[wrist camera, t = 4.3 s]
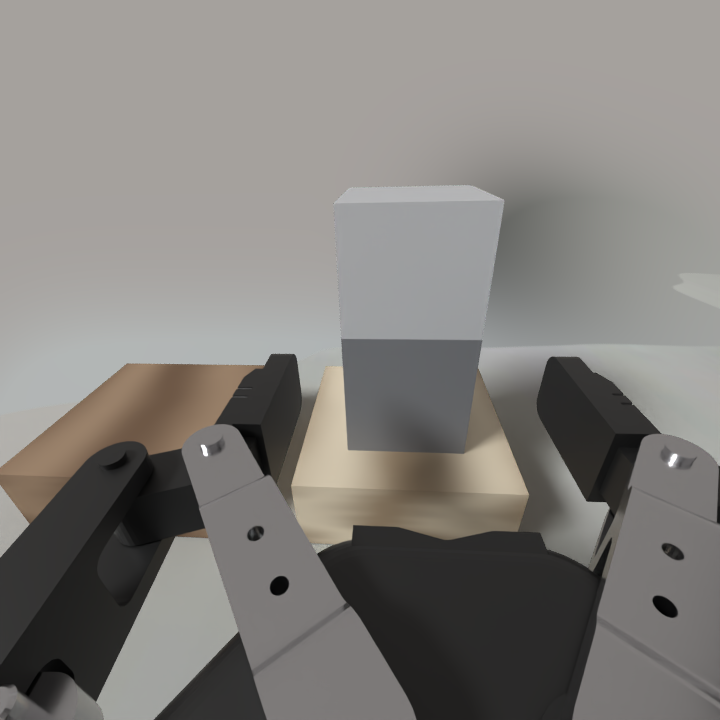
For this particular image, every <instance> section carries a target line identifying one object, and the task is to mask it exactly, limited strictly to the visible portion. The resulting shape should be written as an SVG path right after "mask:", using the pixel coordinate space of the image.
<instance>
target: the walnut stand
mask: <svg viewBox="0 0 720 720" xmlns="http://www.w3.org/2000/svg"><path fill="white" fill-rule="evenodd" d="M263 368H264V365H263V366H262V365H259V366H258V365H193V364H187V365H186V364H126V365H125V366H124V367H122V368H121V369H120V370H119V371H117V373H115V374H114V375H113V376H111V378H109V379H108V380H107V381H105V382H104V383H103V384H102V385H100V386H99V387H98V388H97V389H96V390H94V391H93V392H92V393H91V394H89V395H88V396H87V397H86V398H85V399H83V400H82V401H81V402H80V403H79V404H77V405H76V406H75V407H74V408H72V409H71V410H70V411H69V412H68V413H66V414H65V415H64V416H63V417H61V418H60V419H59V420H58V421H57V422H55V423H54V424H53V425H52V426H51V427H49V428H48V429H47V430H46V431H44V432H43V433H42V434H41V435H40V436H38V437H37V438H36V439H35V440H33V441H32V442H31V443H30V444H29V445H27V446H26V447H25V448H24V449H23V450H21V451H20V452H19V453H18V454H16V455H15V456H14V457H13V458H12V459H10V460H9V461H8V462H7V463H6V464H4V465H3V466H2V467H1V468H0V485H1V486H2V488H3V489H4V490H5V492H6V493H7V494H8V496H9V497H10V498H11V500H12V501H13V502H14V504H15V505H16V506H17V508H18V509H19V510H20V512H21V513H22V514H23V516H24V517H25V518H26V520H27V521H28V522H29V524H31V522H32V521H33V520H34V519H35V518H36V517H37V516H38V515H39V513H40V512H41V511H42V510H43V509H44V508H45V507H46V505H47V504H48V503H49V502H50V501H51V500H52V499H53V498H54V496H55V495H56V494H57V493H58V492H59V491H60V490H61V488H62V487H63V486H64V485H65V484H66V483H67V482H68V480H69V479H70V478H71V477H72V476H73V475H74V474H75V473H76V471H77V470H78V469H79V468H80V467H81V466H82V465H83V463H84V462H85V461H86V460H87V459H88V458H89V457H91V456H92V455H93V454H95V453H96V452H98V451H99V450H101V449H103V448H105V447H107V446H110V445H113V444H116V443H119V442H125V441H136V442H140V443H142V444H143V445H144V446H145V447H146V449H147V451H148V454H149V455H152V454H157V453H162V452H167V451H172V450H177V449H181V448H182V446H183V444H184V442H185V441H186V440H187V439H188V438H189V437H190V436H191V435H192V434H193V433H195V432H196V431H198V430H200V429H202V428H205V427H208V426H212V425H214V424H215V423H216V421H217V419H218V418H219V416H220V415H221V413H222V411H223V410H224V408H225V407H226V405H227V403H228V402H229V400H230V399H231V398H232V397H233V396H232V395H233V394H234V392H235V391H236V389H238V386H239V384H240V383H241V381H242V379H243V378H244V377H245V376H246V375H247V374H249V373H250V372H252V371H253V370H254V369H263ZM177 536H181V537H201V538H208V535H207V532H206V529H201V530H197V531H193V532H189V533H185V534H181V535H177Z"/></svg>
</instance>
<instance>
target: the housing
mask: <svg viewBox="0 0 720 720" xmlns="http://www.w3.org/2000/svg"><path fill="white" fill-rule="evenodd" d="M503 206H504V200H503V199H500V198H498V197H496V196H494V195H492V194H490V193H487V192H485V191H483V190H481V189H479V188H476V187H474V186H472V185H455V186H454V185H453V186H413V187H412V186H407V187H363V188H349V189H348V190H347V191H346V192H345V193H344V194H343V195H342V196H341V197H340V198H339V199H338V200H337V201H336V202H335V203H334V221H335V238H336V255H337V273H338V289H339V307H340V324H341V340H342V359H343V376H344V394H345V411H346V428H347V446H348V450H357V451H389V452H421V453H453V454H464V451H465V445H466V438H467V432H468V426H469V420H470V413H471V407H472V401H473V394H474V388H475V382H476V376H477V369H478V363H479V357H480V351H481V344H482V338H483V331H484V325H485V319H486V313H487V306H488V300H489V294H490V288H491V282H492V275H493V269H494V262H495V256H496V250H497V244H498V238H499V231H500V225H501V218H502V212H503Z"/></svg>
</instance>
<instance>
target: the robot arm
mask: <svg viewBox="0 0 720 720" xmlns="http://www.w3.org/2000/svg"><path fill="white" fill-rule="evenodd" d="M232 396H233V397H232V398H231V399H230V400H229V402H228V403H227V405H226V407H225V408H224V410H223V411H222V413H221V415H220V416H219V418H218V419H217V421H216V423H215V424H214V425H212V426H208V427H205V428H202V429H200V430H198V431H196V432H195V433H193V434H192V435H191V436H190V437H189V438H188V439H187V440H186V441H185V442H184V444H183V446H182V448H181V449H177V450H172V451H167V452H162V453H157V454H152V455H149V454H148V451H147V449H146V447H145V446H144V445H143V444H142V443H140V442H136V441H125V442H119V443H116V444H113V445H110V446H107V447H105V448H103V449H101V450H99V451H98V452H96V453H95V454H93V455H92V456H91V457H89V458H88V459H87V460H86V461H85V462H84V463H83V465H82V466H81V467H80V468H79V469H78V470H77V471H76V473H75V474H74V475H73V476H72V477H71V478H70V479H69V480H68V482H67V483H66V484H65V485H64V486H63V487H62V488H61V490H60V491H59V492H58V493H57V494H56V495H55V496H54V498H53V499H52V500H51V501H50V502H49V503H48V504H47V505H46V507H45V508H44V509H43V510H42V511H41V512H40V513H39V515H38V516H37V517H36V518H35V519H34V520H33V521H32V522H31V524H30V525H29V526H28V527H27V528H26V529H25V530H24V532H23V533H22V534H21V535H20V536H19V537H18V538H17V540H16V541H15V542H14V543H13V544H12V545H11V546H10V547H9V549H8V550H7V551H6V552H5V553H4V554H3V555H2V557H1V558H0V720H104V718H103V713H102V710H101V708H100V707H99V705H98V704H97V703H96V701H97V699H98V697H99V695H100V692H101V690H102V688H103V686H104V684H105V682H106V680H107V678H108V676H109V674H110V672H111V670H112V667H113V665H114V663H115V661H116V659H117V657H118V655H119V653H120V651H121V649H122V647H123V644H124V642H125V640H126V638H127V636H128V634H129V632H130V630H131V628H132V626H133V624H134V622H135V619H136V617H137V615H138V613H139V611H140V609H141V607H142V605H143V603H144V601H145V599H146V597H147V594H148V592H149V590H150V588H151V586H152V584H153V582H154V580H155V578H156V576H157V574H158V572H159V569H160V567H161V565H162V563H163V561H164V559H165V557H166V555H167V553H168V551H169V549H170V547H171V544H172V542H173V540H174V538H175V536H177V535H181V534H185V533H189V532H193V531H197V530H201V529H206V532H207V535H208V538H209V541H210V544H211V547H212V550H213V553H214V556H215V559H216V562H217V565H218V568H219V572H220V575H221V578H222V581H223V584H224V587H225V590H226V593H227V596H228V599H229V602H230V605H231V608H232V611H233V614H234V618H235V621H236V624H237V627H238V630H239V632H238V633H237V634H236V635H235V636H234V637H233V638H232V639H231V640H230V641H229V642H228V643H227V644H226V645H225V646H224V647H223V648H222V649H221V650H220V651H219V652H218V654H217V655H216V656H215V657H214V658H213V659H212V660H211V661H210V662H209V663H208V664H207V665H206V666H205V667H204V668H203V669H202V670H201V671H200V672H199V673H198V674H197V675H196V676H195V677H194V678H193V680H192V681H191V682H190V683H189V684H188V685H187V686H186V687H185V688H184V689H183V690H182V691H181V692H180V693H179V694H178V695H177V696H176V697H175V698H174V699H173V700H172V701H171V702H170V703H169V704H168V706H167V707H166V708H165V709H164V710H163V711H162V712H161V713H160V714H159V715H158V716H157V717H156V718H155V719H154V720H720V466H718V465H717V462H716V461H715V460H714V458H713V457H712V456H711V455H710V454H709V453H707V452H706V451H705V450H703V449H702V448H700V447H699V446H697V445H695V444H693V443H691V442H689V441H687V440H684V439H681V438H678V437H675V436H671V435H665V434H661V433H660V432H659V431H658V430H657V428H656V427H655V426H654V425H653V424H652V423H651V422H650V421H649V420H648V419H647V418H646V417H645V416H644V415H643V414H642V413H641V412H640V411H639V410H638V409H637V408H636V406H635V405H632V402H631V401H630V400H629V399H628V398H627V397H626V396H623V393H622V392H621V391H620V390H619V389H618V388H617V387H616V386H615V384H614V383H613V382H611V381H609V380H608V379H606V378H604V377H602V376H601V375H599V374H597V373H593V372H592V371H591V370H590V369H589V368H588V367H587V365H586V364H585V363H584V362H583V361H582V360H581V359H580V358H579V357H551V358H549V360H548V361H547V364H546V368H545V371H544V375H543V379H542V383H541V386H540V390H539V394H538V398H537V411H538V415H539V417H540V419H541V421H542V423H543V425H544V426H545V428H546V430H547V432H548V433H549V435H550V437H551V439H552V441H553V442H554V444H555V446H556V448H557V449H558V451H559V453H560V455H561V457H562V458H563V460H564V462H565V464H566V466H567V467H568V469H569V471H570V473H571V474H572V476H573V478H574V480H575V482H576V483H577V485H578V487H579V489H580V490H581V492H582V494H583V496H584V498H585V499H586V501H587V502H607V504H608V506H609V507H610V508H609V510H608V512H607V514H606V516H605V519H604V522H603V525H602V528H601V531H600V534H599V537H598V540H597V543H596V546H595V549H594V552H593V555H592V558H591V561H590V564H589V567H588V568H587V567H585V566H583V565H582V564H580V563H578V562H576V561H574V560H572V559H570V558H568V557H566V556H564V555H562V554H559V553H556V552H554V551H551V550H547V549H546V547H545V544H544V542H543V539H542V537H541V534H540V533H534V532H510V531H490V532H485V533H480V534H475V535H471V536H466V537H461V538H456V539H451V540H444V539H439V538H436V537H432V536H429V535H425V534H422V533H418V532H414V531H411V530H407V529H404V528H400V527H388V526H364V525H353V532H352V540H348V541H344V542H341V543H338V544H335V545H332V546H330V547H328V548H326V549H324V550H322V551H321V552H319V553H318V554H317V553H316V552H315V550H314V548H313V547H312V545H311V543H310V541H309V540H308V538H307V536H306V535H305V533H304V531H303V529H302V528H301V526H300V524H299V523H298V521H297V519H296V518H295V516H294V514H293V512H292V511H291V509H290V507H289V506H288V504H287V502H286V500H285V499H284V497H283V495H282V494H281V492H280V490H279V488H278V487H277V485H276V483H277V480H278V477H279V474H280V471H281V468H282V465H283V462H284V459H285V456H286V453H287V450H288V447H289V444H290V441H291V438H292V435H293V432H294V429H295V426H296V423H297V420H298V417H299V414H300V410H301V402H302V396H301V387H300V379H299V372H298V364H297V358H296V356H295V355H294V354H271V355H270V357H269V359H268V361H267V362H266V364H265V366H264V368H263V369H254V370H253V371H252V372H250V373H249V374H247V375H246V376H245V377H244V378H243V379H242V381H241V383H240V384H239V386H238V389H236V391H235V392H234V394H233V395H232Z"/></svg>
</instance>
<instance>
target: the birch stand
mask: <svg viewBox="0 0 720 720" xmlns="http://www.w3.org/2000/svg"><path fill="white" fill-rule="evenodd" d="M291 489H292V495H293V501H294V506H295V512H296V518H297V521H298V523H299V524H300V526H301V528H302V529H303V531H304V533H305V535H306V536H307V538H308V540H309V541H310V543H321V544H338V543H341V542H344V541H348V540H352V532H353V525H364V526H388V527H400V528H404V529H407V530H411V531H414V532H418V533H422V534H425V535H429V536H432V537H436V538H439V539H444V540H451V539H456V538H461V537H466V536H471V535H475V534H480V533H485V532H490V531H510V532H518V530H519V527H520V523H521V520H522V517H523V514H524V510H525V507H526V504H527V500H528V497H529V493H528V491H527V488H526V486H525V483H524V481H523V478H522V476H521V473H520V471H519V469H518V466H517V464H516V461H515V459H514V456H513V454H512V451H511V449H510V446H509V444H508V441H507V439H506V436H505V434H504V431H503V429H502V426H501V424H500V421H499V419H498V416H497V414H496V411H495V409H494V406H493V404H492V401H491V399H490V396H489V394H488V391H487V389H486V386H485V384H484V381H483V379H482V377H481V374H480V372H479V369H477V376H476V382H475V388H474V394H473V401H472V407H471V413H470V420H469V426H468V432H467V438H466V445H465V451H464V454H453V453H421V452H389V451H357V450H348V446H347V428H346V411H345V394H344V376H343V367H335V366H326V367H325V371H324V374H323V378H322V381H321V384H320V388H319V391H318V395H317V398H316V402H315V405H314V408H313V412H312V415H311V419H310V422H309V426H308V429H307V432H306V436H305V439H304V443H303V446H302V450H301V453H300V456H299V460H298V463H297V467H296V470H295V474H294V477H293V480H292V484H291Z"/></svg>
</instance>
